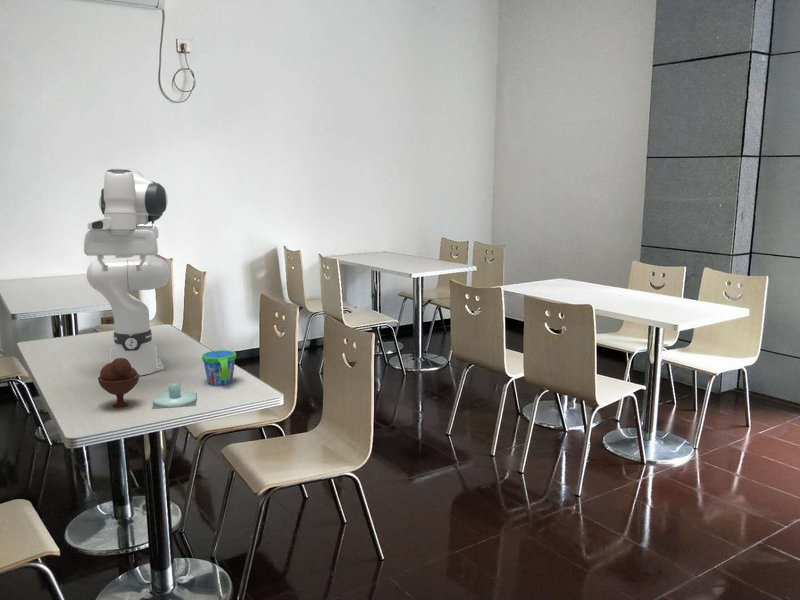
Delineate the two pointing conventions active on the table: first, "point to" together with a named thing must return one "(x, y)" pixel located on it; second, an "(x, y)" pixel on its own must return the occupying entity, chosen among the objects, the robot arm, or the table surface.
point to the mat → (174, 407)
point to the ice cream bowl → (118, 379)
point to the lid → (174, 397)
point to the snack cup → (219, 367)
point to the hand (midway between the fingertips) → (122, 271)
